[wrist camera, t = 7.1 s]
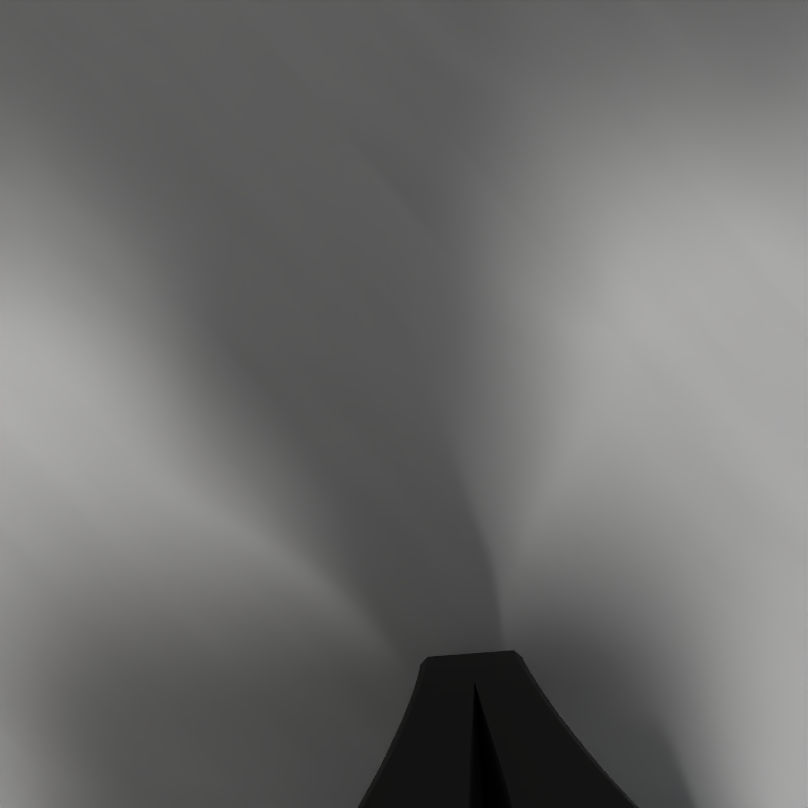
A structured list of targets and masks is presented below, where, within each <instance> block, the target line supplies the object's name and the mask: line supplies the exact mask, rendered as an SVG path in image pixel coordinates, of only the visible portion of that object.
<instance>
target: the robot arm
mask: <svg viewBox="0 0 808 808" xmlns="http://www.w3.org/2000/svg"><path fill="white" fill-rule="evenodd" d="M358 808H638V807H637V806H636V805H635V804H634V803H633V802H632V801H631V800H630V799H629V798H628V796H627V795H626V794H625V793H624V792H623V791H622V790H621V789H620V788H619V787H618V785H617V784H616V783H615V782H614V781H613V780H612V779H611V778H610V777H609V776H608V774H607V773H606V772H605V771H604V770H603V769H602V768H601V766H600V765H599V764H598V763H597V762H596V761H595V759H594V758H593V757H592V756H591V755H590V753H589V752H588V751H587V750H586V748H585V747H584V746H583V745H582V743H581V742H580V741H579V740H578V738H577V737H576V736H575V735H574V733H573V732H572V731H571V730H570V728H569V727H568V726H567V725H566V723H565V722H564V721H563V719H562V718H561V717H560V715H559V714H558V713H557V711H556V710H555V709H554V707H553V706H552V704H551V703H550V702H549V700H548V699H547V697H546V696H545V694H544V693H543V691H542V690H541V688H540V687H539V685H538V684H537V682H536V681H535V679H534V678H533V676H532V674H531V673H530V671H529V669H528V667H527V666H526V664H525V662H524V660H523V658H522V657H521V656H520V655H519V654H518V653H516V652H515V651H514V650H513V651H499V652H486V653H473V654H460V655H446V656H433V657H427V658H426V659H425V660H424V661H423V663H422V664H421V665H420V670H419V674H418V678H417V681H416V685H415V688H414V691H413V694H412V696H411V699H410V702H409V704H408V707H407V709H406V712H405V714H404V717H403V719H402V722H401V724H400V726H399V728H398V730H397V733H396V735H395V737H394V739H393V741H392V743H391V746H390V748H389V750H388V752H387V754H386V756H385V758H384V760H383V762H382V764H381V766H380V768H379V770H378V772H377V774H376V776H375V777H374V779H373V781H372V783H371V785H370V786H369V788H368V790H367V792H366V794H365V796H364V797H363V799H362V801H361V803H360V805H359V806H358Z"/></svg>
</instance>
